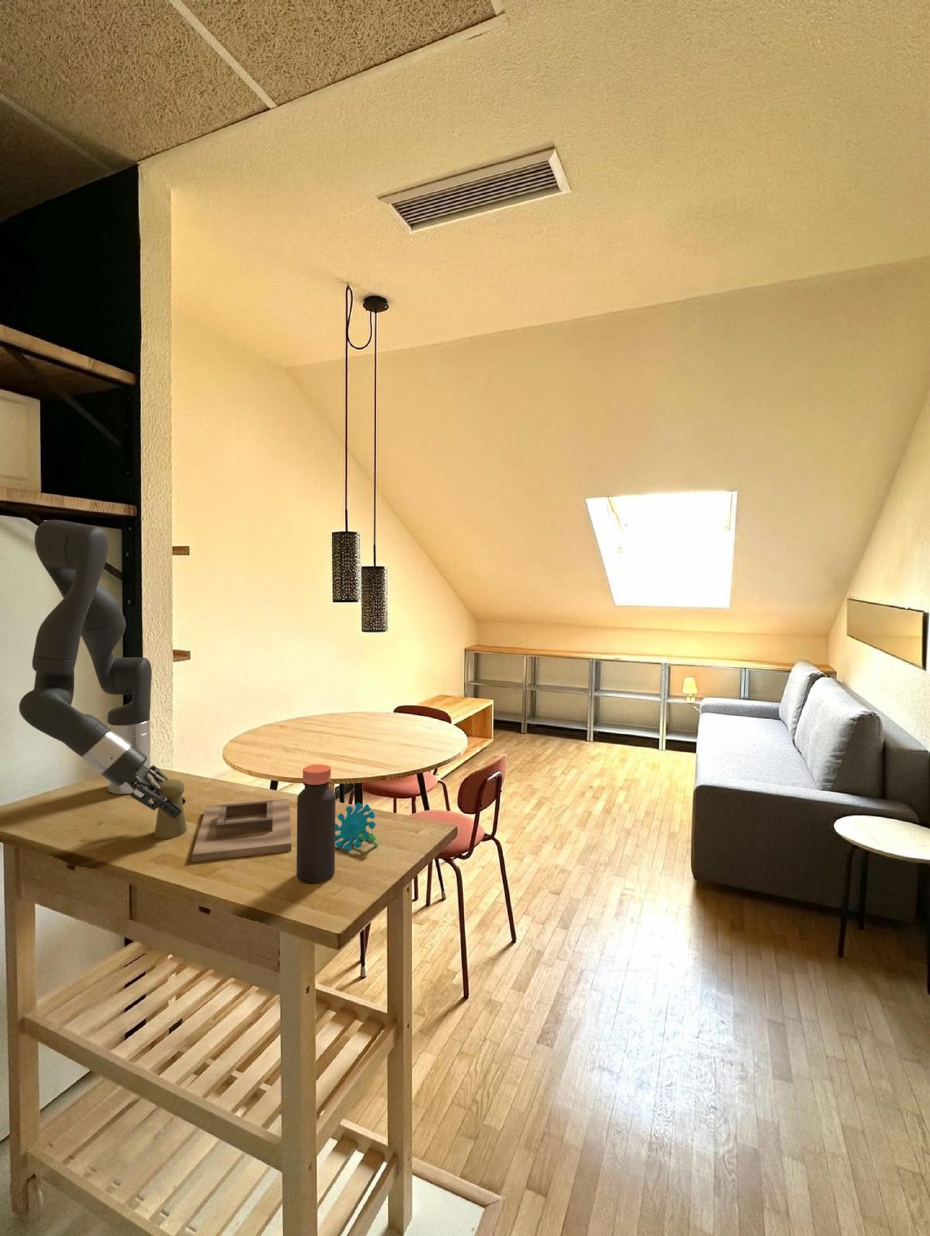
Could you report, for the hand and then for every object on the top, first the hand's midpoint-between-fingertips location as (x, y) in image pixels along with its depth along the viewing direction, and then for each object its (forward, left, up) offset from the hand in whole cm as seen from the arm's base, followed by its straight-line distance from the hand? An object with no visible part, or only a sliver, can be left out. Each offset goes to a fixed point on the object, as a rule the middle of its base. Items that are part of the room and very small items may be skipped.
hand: (180, 809), depth 121 cm
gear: (+16, +35, -5) cm, 38 cm away
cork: (0, -2, -5) cm, 5 cm away
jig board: (+3, +13, -5) cm, 14 cm away
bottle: (+26, +26, -5) cm, 37 cm away
